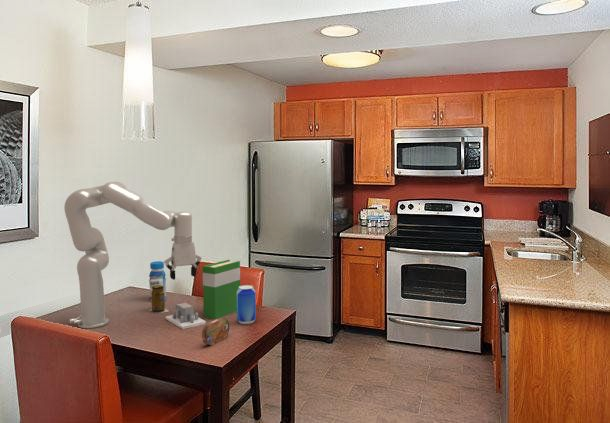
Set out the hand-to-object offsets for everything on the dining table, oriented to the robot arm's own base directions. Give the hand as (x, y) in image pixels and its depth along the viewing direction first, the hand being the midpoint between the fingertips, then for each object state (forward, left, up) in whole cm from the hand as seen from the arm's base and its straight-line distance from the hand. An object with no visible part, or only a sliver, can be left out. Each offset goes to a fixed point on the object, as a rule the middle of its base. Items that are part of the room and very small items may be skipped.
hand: (183, 277), depth 209 cm
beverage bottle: (+4, +41, -20) cm, 46 cm away
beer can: (+21, -18, -20) cm, 35 cm away
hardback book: (+19, 0, -20) cm, 28 cm away
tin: (-1, -30, -20) cm, 37 cm away
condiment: (-3, +23, -20) cm, 31 cm away
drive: (0, 0, -19) cm, 19 cm away
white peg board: (0, 0, -20) cm, 20 cm away
